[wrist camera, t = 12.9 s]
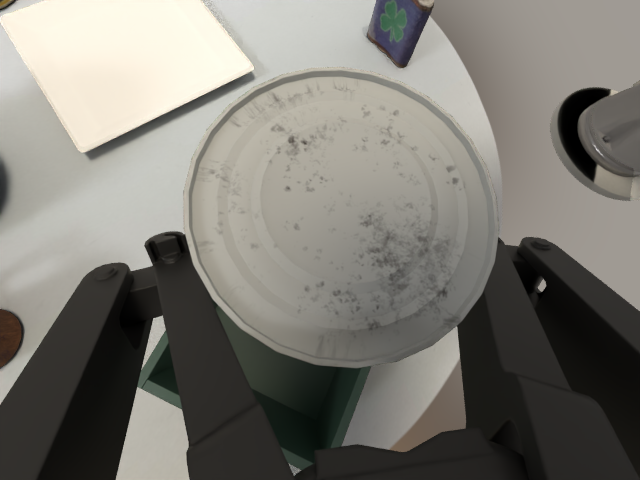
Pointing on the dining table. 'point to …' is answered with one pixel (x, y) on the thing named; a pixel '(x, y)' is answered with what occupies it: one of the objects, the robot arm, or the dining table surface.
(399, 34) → the flask
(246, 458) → the robot arm
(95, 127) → the white flat square slab
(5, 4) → the apothecary jar
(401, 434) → the dining table surface
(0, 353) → the mug
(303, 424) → the bin
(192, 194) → the white speckled cylinder
